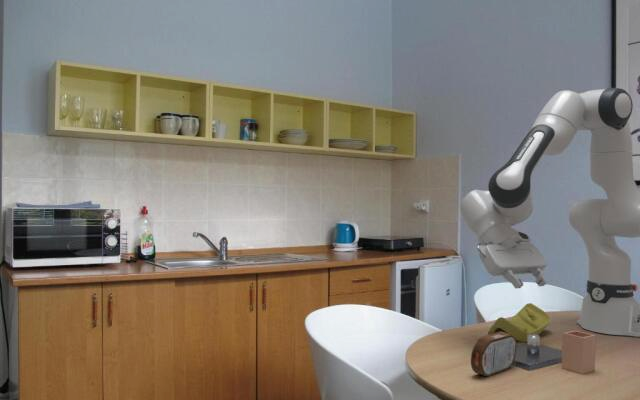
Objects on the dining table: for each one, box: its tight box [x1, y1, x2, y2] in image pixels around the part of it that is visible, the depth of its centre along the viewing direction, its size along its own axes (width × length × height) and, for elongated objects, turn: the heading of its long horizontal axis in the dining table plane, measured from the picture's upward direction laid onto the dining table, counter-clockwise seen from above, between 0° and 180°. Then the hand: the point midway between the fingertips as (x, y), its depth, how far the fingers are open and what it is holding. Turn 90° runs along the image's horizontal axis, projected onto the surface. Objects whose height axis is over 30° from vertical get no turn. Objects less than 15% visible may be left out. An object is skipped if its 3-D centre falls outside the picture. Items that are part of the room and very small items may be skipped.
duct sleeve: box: [561, 329, 597, 375], centre depth 125 cm, size 5×5×8 cm
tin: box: [470, 331, 518, 377], centre depth 121 cm, size 15×3×8 cm, turn 131°
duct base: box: [511, 334, 562, 371], centre depth 133 cm, size 18×12×5 cm, turn 124°
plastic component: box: [487, 302, 552, 343], centre depth 157 cm, size 20×7×10 cm
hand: (531, 286), depth 135 cm, fingers open, 8 cm apart
